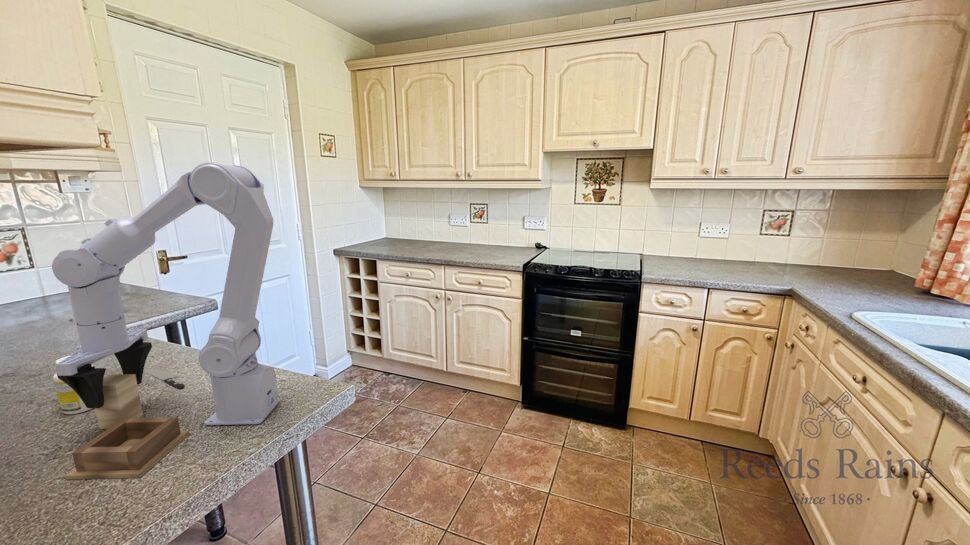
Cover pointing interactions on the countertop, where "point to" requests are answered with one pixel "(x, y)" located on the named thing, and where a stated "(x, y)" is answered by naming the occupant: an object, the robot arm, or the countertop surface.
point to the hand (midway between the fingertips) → (115, 394)
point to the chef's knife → (164, 377)
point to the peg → (119, 400)
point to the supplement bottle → (68, 396)
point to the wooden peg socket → (127, 448)
